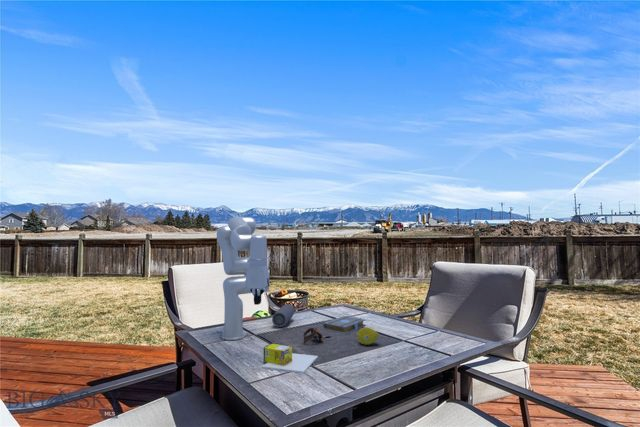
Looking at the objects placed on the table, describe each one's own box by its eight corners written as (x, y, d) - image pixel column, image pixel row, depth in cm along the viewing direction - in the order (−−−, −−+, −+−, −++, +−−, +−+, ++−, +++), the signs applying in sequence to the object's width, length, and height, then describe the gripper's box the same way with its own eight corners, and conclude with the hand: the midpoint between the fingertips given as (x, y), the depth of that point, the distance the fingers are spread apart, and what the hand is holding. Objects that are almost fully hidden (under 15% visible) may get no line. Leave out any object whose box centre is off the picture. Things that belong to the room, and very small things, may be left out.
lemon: (354, 345, 169) (353, 328, 170) (360, 340, 176) (359, 324, 176) (375, 348, 164) (375, 331, 164) (380, 343, 171) (380, 327, 171)
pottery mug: (324, 346, 169) (316, 332, 168) (307, 354, 170) (299, 340, 169) (325, 333, 181) (317, 320, 180) (309, 340, 182) (302, 327, 181)
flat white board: (262, 368, 141) (262, 366, 141) (280, 353, 158) (280, 352, 158) (303, 373, 135) (303, 371, 135) (317, 357, 152) (317, 355, 152)
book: (343, 322, 214) (343, 314, 214) (366, 326, 204) (366, 318, 204) (322, 329, 198) (322, 321, 198) (346, 335, 187) (345, 325, 188)
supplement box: (263, 361, 146) (284, 365, 141) (263, 347, 147) (284, 350, 142) (271, 357, 152) (292, 361, 146) (271, 343, 152) (292, 346, 147)
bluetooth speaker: (280, 319, 221) (280, 303, 222) (295, 319, 220) (295, 303, 220) (270, 328, 199) (271, 311, 199) (286, 329, 197) (286, 311, 198)
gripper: (238, 263, 154) (238, 304, 153) (269, 264, 150) (268, 307, 149) (247, 261, 161) (246, 301, 161) (276, 262, 157) (276, 303, 156)
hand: (257, 303), depth 155 cm, fingers closed
